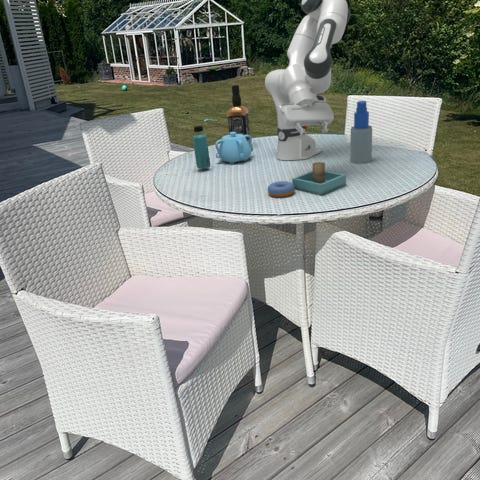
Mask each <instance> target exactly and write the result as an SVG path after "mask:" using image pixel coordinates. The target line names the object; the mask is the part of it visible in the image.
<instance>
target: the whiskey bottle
mask: <svg viewBox="0 0 480 480" xmlns="http://www.w3.org/2000/svg"><path fill="white" fill-rule="evenodd" d="M231 92H232V96H231V102H232V106H231V107H230V108H229V109H228V110H227V111H226V116H227V120H228V121H227V122H228V135H230V132H236V134H241V135H250V136H251V132H250V131H251V130H250V122H249V121H250V120H249V119H250V118H249V108H248V107H246V106H244V105H242V97H241V95H240V94H241V93H240V85H239V84H234V85H231ZM245 138H246V140H247V141H248V143H249V137H245ZM252 144H253V142H252V143H251V146H252V147H253V145H252Z"/></svg>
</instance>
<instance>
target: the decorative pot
mask: <svg viewBox="0 0 480 480" xmlns="http://www.w3.org/2000/svg"><path fill="white" fill-rule="evenodd" d="M245 137H249V143H248V141H247V140H246V138H245ZM251 143H252V144H253V138H252V136H251V134H250V135H241V134H236V132H230V135H229V134H227V135H224V136H222V137H221V139H218V140H216V142H215V144H214V146H215V149H216V150H217V152H216V154H215V157H216V158H217V159H221V160H222V161H224V162H227V163H229V164H230V163H231V165H232V163H233V164H235V163H237V162H246V161H247V160H248V159H249V158H250V157H251V155H252V152H253V151H254V147H253V145H252V146H251ZM218 144H219V145H218Z"/></svg>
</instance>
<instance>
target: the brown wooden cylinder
mask: <svg viewBox="0 0 480 480" xmlns="http://www.w3.org/2000/svg"><path fill="white" fill-rule="evenodd" d="M325 168H326V163H325V162H324V161H322V162H321V161H318V162H313V163H312V171H313V182H315V183H320V184H321V183H324V182H325V171H326V169H325Z"/></svg>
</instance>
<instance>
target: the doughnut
mask: <svg viewBox="0 0 480 480" xmlns="http://www.w3.org/2000/svg"><path fill="white" fill-rule="evenodd" d="M295 190H296V189H295V188H294V185H293V184H292V182H290V181H283V180H280V181H274V182H272V183H270V184H269V185H268V186H267V193H268V194H269V196H271V197H272V198H285V197H286V198H287V197H289V196H292V195H293V194H294V193H295Z"/></svg>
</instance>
